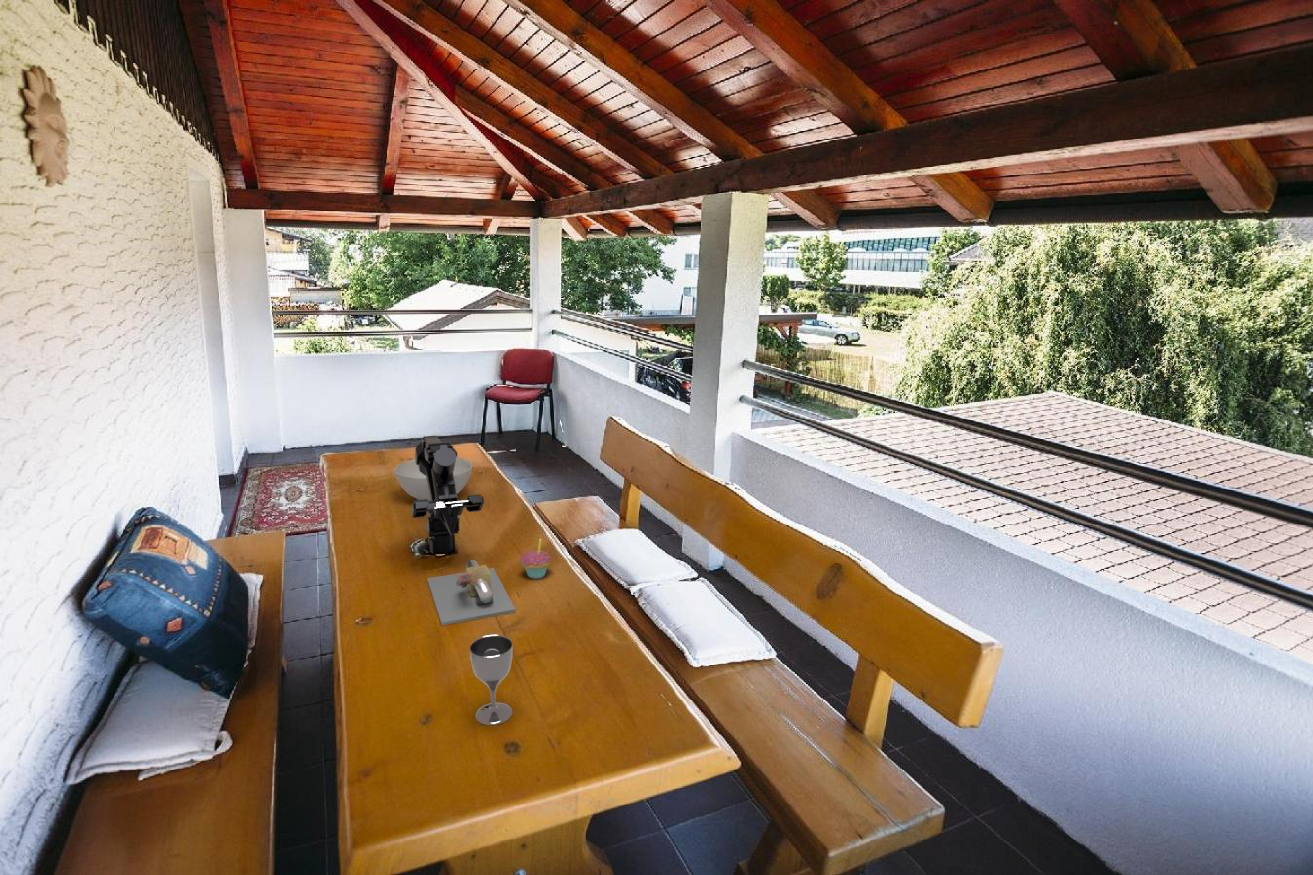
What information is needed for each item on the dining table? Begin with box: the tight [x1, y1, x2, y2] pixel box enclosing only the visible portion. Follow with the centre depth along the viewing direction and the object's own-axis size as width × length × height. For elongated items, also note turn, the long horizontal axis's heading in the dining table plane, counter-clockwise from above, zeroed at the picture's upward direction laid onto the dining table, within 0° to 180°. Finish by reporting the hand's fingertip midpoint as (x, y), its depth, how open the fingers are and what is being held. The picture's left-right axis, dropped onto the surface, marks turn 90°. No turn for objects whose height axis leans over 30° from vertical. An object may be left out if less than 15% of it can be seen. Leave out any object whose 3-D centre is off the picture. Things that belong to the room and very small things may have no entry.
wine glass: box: [469, 634, 513, 726], centre depth 140 cm, size 8×8×15 cm
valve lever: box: [456, 574, 473, 588], centre depth 183 cm, size 2×3×12 cm
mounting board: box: [427, 567, 517, 626], centre depth 189 cm, size 26×18×1 cm
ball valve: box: [465, 559, 493, 606], centre depth 189 cm, size 20×6×6 cm, turn 25°
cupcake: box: [519, 537, 552, 580], centre depth 201 cm, size 9×8×12 cm
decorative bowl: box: [393, 456, 474, 502], centre depth 259 cm, size 27×27×12 cm
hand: (452, 534), depth 195 cm, fingers closed
